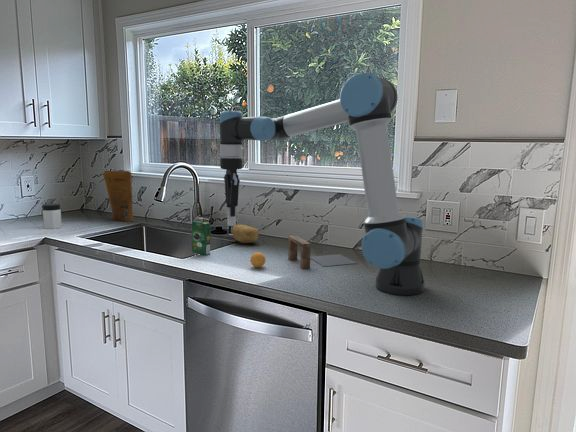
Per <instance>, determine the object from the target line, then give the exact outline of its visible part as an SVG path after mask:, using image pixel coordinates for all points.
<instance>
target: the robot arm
mask: <svg viewBox="0 0 576 432" xmlns="http://www.w3.org/2000/svg"><path fill="white" fill-rule="evenodd" d="M339 93H340V94H339V99H336V100H333V101H330V102H327V103H324V104H320V105H316V106H313V107H309V108H306V109H303V110H299V111H296V112H293V113H289V114H286V115H283V116H279V117H275V118H273V117H269V116H261V115H259V116H248V117H246V116H243V113H242V111H241V110H240V111H239V110H223V111H221V112H220V115H219V138H220V139H219V141H220V143H219V156H220V163H219V165H220V166H219V167H220V169H221V170H226V171H225V174H224V177H223V180H224V181H223V182H224V192H225V194H224V195H225V205H226V208H227V216H226V217H227V226H228V227H230V226H231V227H232V226H233V227H234V226H235V225H237V207H238V205H239V203H238V202H239V190H240V182H241V181H240V179H239V174H238V171H237V170H242V169H243V158H242V156H243V151H244V149H245V148H244V147H243V141H260V142H261V141H264V142H265V141H278V142H281V141H286V140H288V139H290V138H291V137H295V136H299V135H303V134H306V133H311V132H313V131H318V130H322V129H325V128H331V127H333V126H337V125H340V124H341V125H342V124H345V123H349V128H350V129H352V130H353V131H355V133H356V139H357V141H356V142H357V148H358V153H359V161H360V169H361V175H362V181H363V188H364V194H365V195H364V196H365V202H366V209H367V216H366V218H365V220H364V221H363V226H364V232H365V233H364V234H365V235H364V236H363V238H362V241H361V252H362V254H363V257H364V259H366V261H367V262H368V263H369V264H370V265H372V266H373V267H376V268H378V272H377V275H376V277H375V283H374V287H376V289H377V290H379V291H381V292H384V293H388V294H392V295H399V296H413V295H420V294H423V292H424V291H425V286H426V285H425V280H424V276H423V272H422V268H421V256H422V255H421V254H422V240H423V230H424V226H423V220H422V219H421V218H420V217H417V216H416V217H415V216H407V215H404V214H402V213H401V212H400V211H399V204H398V197H397V189H396V183H395V175H394V168H393V161H392V152H391V148H390V147H391V145H390V141H389V140H390V139H389V132H388V125H389V124H390V123H391V121H392V112H394V110H395V108H396V107H397V104H398V98H399V97H398V91H397V89H396V87H395V85H394V84H393V83H392V82H391V81H389V80H388V79H386V78H384V77H383V78H382V77H379V76H377V74H374V73H369V72H361V73H360V72H359V73H355V74H353V75H352V76H350V77H349V78H348V79H347V80H346V81H345V82H344V84H343V85H342V87H341V90H340V92H339Z"/></svg>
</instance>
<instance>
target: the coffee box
mask: <svg viewBox="0 0 576 432" xmlns="http://www.w3.org/2000/svg"><path fill="white" fill-rule="evenodd" d="M191 247H192V248H191V250H192V251H191V252H192V253H194V254H199V255H203V256H209V255H211V222H206V221H200V220H192V221H191Z"/></svg>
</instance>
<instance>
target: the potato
mask: <svg viewBox="0 0 576 432" xmlns="http://www.w3.org/2000/svg"><path fill="white" fill-rule="evenodd" d="M231 234H232V237H233V238H234V239H235V240H236V241H238V242H239V243H241V244H252V243H253V242H255V241H257V239H258V238H259V230H258V229H257V228H255V227H252V226H250V225H245V224H236V225H234V226H233V227H232V228H231Z"/></svg>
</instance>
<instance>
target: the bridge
mask: <svg viewBox="0 0 576 432" xmlns="http://www.w3.org/2000/svg"><path fill="white" fill-rule="evenodd" d="M287 241H288V243H287V244H288V247H287V248H288V252H287V254H288V257H287V259H288V261H296V260H297V261H298V246H299V247H300V260H299V261H300V262H299V263H300V265H299V266H300V268H301V270H306V269H311V259H310V257H311V246H312V245H311V242H308V241H307V240H305V239H303V238H301V237H299V236H298V235H296V234H295V235H288V240H287Z"/></svg>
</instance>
